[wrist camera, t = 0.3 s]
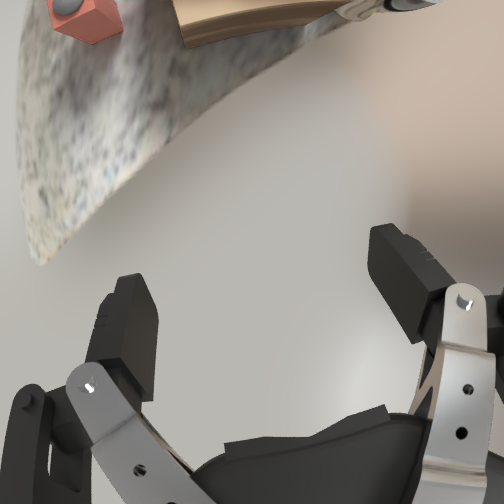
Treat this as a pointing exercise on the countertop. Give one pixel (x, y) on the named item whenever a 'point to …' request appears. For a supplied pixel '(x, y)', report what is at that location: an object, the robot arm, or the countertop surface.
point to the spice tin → (85, 18)
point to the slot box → (244, 17)
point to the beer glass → (381, 7)
